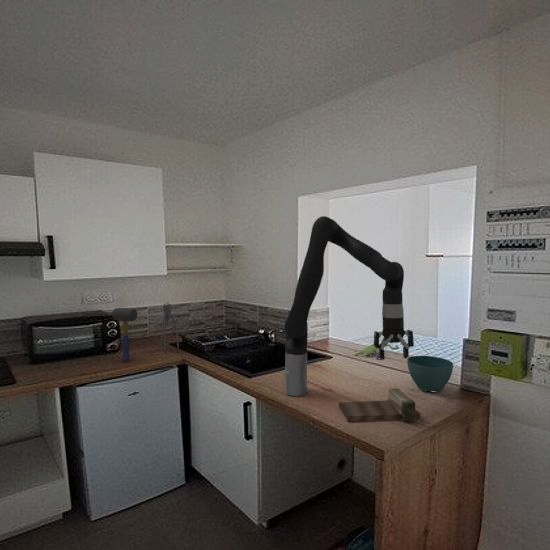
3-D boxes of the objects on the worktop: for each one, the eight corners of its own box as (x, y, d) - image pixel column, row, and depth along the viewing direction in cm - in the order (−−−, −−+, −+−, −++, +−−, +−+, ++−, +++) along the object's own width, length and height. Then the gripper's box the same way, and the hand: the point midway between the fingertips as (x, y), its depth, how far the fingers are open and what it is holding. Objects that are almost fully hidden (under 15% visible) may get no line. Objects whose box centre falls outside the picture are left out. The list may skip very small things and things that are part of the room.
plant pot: (415, 378, 167) (416, 353, 167) (457, 388, 155) (458, 360, 155) (400, 389, 154) (400, 361, 153) (445, 400, 142) (445, 370, 141)
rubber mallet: (139, 360, 200) (138, 307, 199) (130, 364, 193) (128, 309, 192) (122, 358, 205) (120, 306, 203) (112, 361, 198) (110, 308, 196)
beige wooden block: (403, 421, 123) (404, 403, 123) (387, 404, 137) (387, 388, 137) (415, 421, 123) (415, 402, 123) (397, 404, 137) (397, 387, 137)
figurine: (403, 354, 212) (403, 344, 211) (376, 362, 195) (376, 352, 194) (376, 348, 226) (376, 339, 226) (349, 355, 209) (349, 345, 209)
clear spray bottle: (161, 350, 223) (160, 302, 221) (178, 350, 222) (178, 302, 221) (155, 354, 213) (154, 304, 211) (173, 354, 212) (172, 304, 211)
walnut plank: (348, 422, 124) (348, 416, 124) (339, 407, 136) (339, 402, 136) (419, 418, 126) (419, 413, 126) (404, 404, 138) (404, 399, 138)
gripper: (376, 318, 129) (378, 362, 129) (416, 316, 129) (417, 360, 130) (370, 314, 136) (372, 356, 137) (407, 313, 137) (408, 354, 137)
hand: (394, 358), depth 133 cm, fingers open, 8 cm apart
